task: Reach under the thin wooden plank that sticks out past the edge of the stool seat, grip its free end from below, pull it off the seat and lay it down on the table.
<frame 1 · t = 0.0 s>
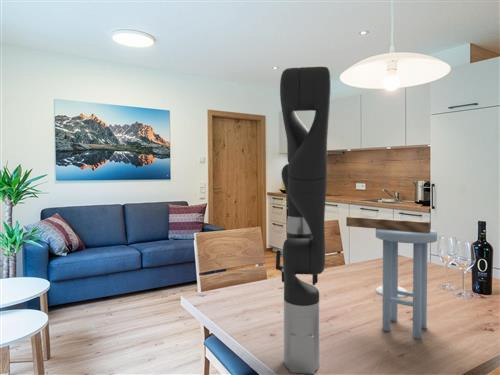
hand: (299, 283, 103), 17 cm above the table, tool pointing down, fingers open, 8 cm apart
stool: (404, 328, 111), on the table
thin wooden plank: (386, 228, 114), point 32 cm above the table, touching stool
candlestick: (391, 293, 145), on the table
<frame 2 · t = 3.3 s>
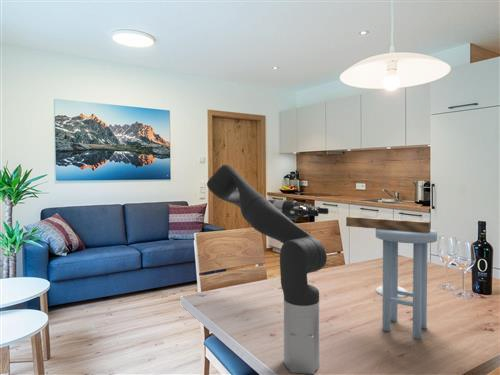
hand: (323, 212, 127), 36 cm above the table, tool horizontal, fingers open, 8 cm apart
nothing on the table moved.
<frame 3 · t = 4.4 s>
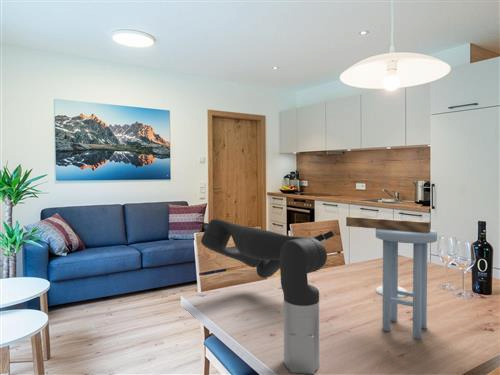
hand: (328, 234, 126), 28 cm above the table, tool pointing upward, fingers open, 8 cm apart
nothing on the table moved.
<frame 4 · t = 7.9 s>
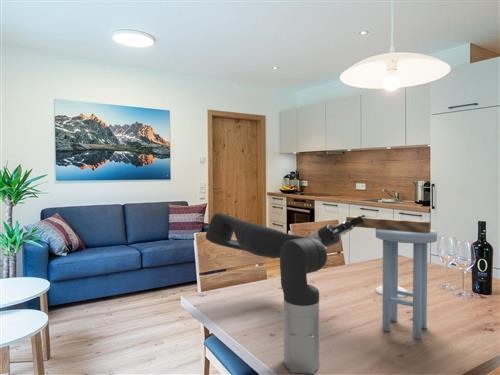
hand: (363, 218, 118), 35 cm above the table, tool pointing upward, fingers closed on thin wooden plank, 3 cm apart
thin wooden plank: (385, 228, 114), point 32 cm above the table, touching gripper, stool
everything else where it was.
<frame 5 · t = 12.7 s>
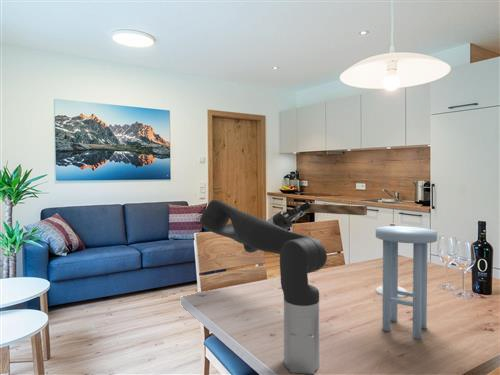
hand: (311, 203, 130), 39 cm above the table, tool pointing upward, fingers closed on thin wooden plank, 3 cm apart
thin wooden plank: (329, 212, 126), point 36 cm above the table, touching gripper
everything else where it was.
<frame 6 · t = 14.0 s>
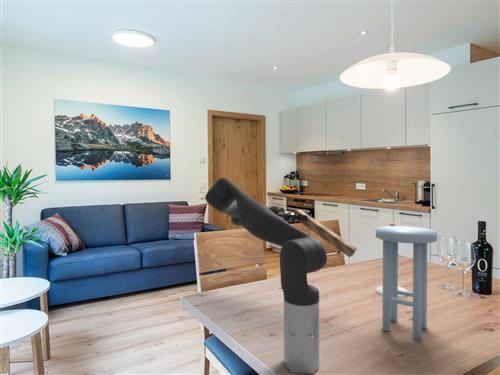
hand: (309, 217, 131), 34 cm above the table, tool horizontal, fingers closed on thin wooden plank, 3 cm apart
thin wooden plank: (321, 235, 128), point 27 cm above the table, tilted 29°, touching gripper
everything else where it was.
when the fingers open (15 cm above the table, at t = 17.7 s): thin wooden plank drops 9 cm, on the table.
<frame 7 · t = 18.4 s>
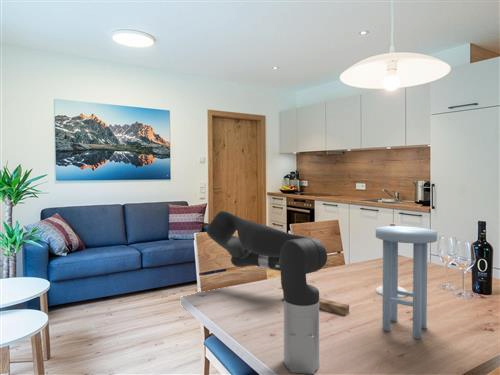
hand: (307, 266, 132), 15 cm above the table, tool horizontal, fingers open, 8 cm apart
thin wooden plank: (314, 306, 131), on the table
everything else where it was.
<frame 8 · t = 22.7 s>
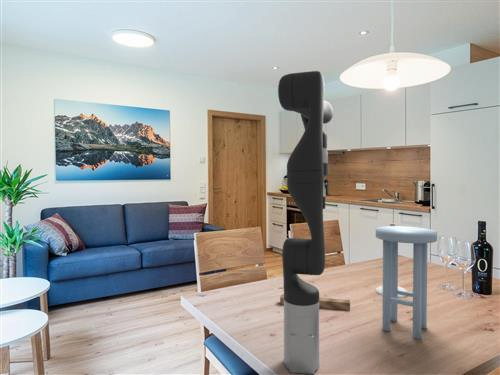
hand: (316, 210, 116), 38 cm above the table, tool pointing down, fingers open, 8 cm apart
at the end: thin wooden plank on the table; thin wooden plank moved 41.7 cm from its start; the gripper is holding nothing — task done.
